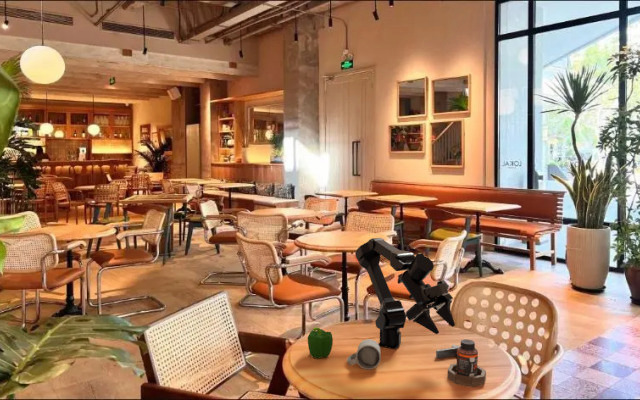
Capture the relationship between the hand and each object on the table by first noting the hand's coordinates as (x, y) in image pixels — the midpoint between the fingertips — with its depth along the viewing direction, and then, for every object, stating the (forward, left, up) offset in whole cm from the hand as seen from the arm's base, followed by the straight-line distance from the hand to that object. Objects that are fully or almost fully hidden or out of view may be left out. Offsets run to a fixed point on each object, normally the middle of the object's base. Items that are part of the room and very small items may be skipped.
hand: (446, 329), depth 157 cm
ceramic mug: (-24, -6, -13) cm, 28 cm away
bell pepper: (-40, -6, -13) cm, 42 cm away
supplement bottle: (+7, -2, -13) cm, 15 cm away
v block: (+1, +12, -13) cm, 18 cm away
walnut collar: (+7, -2, -13) cm, 15 cm away
